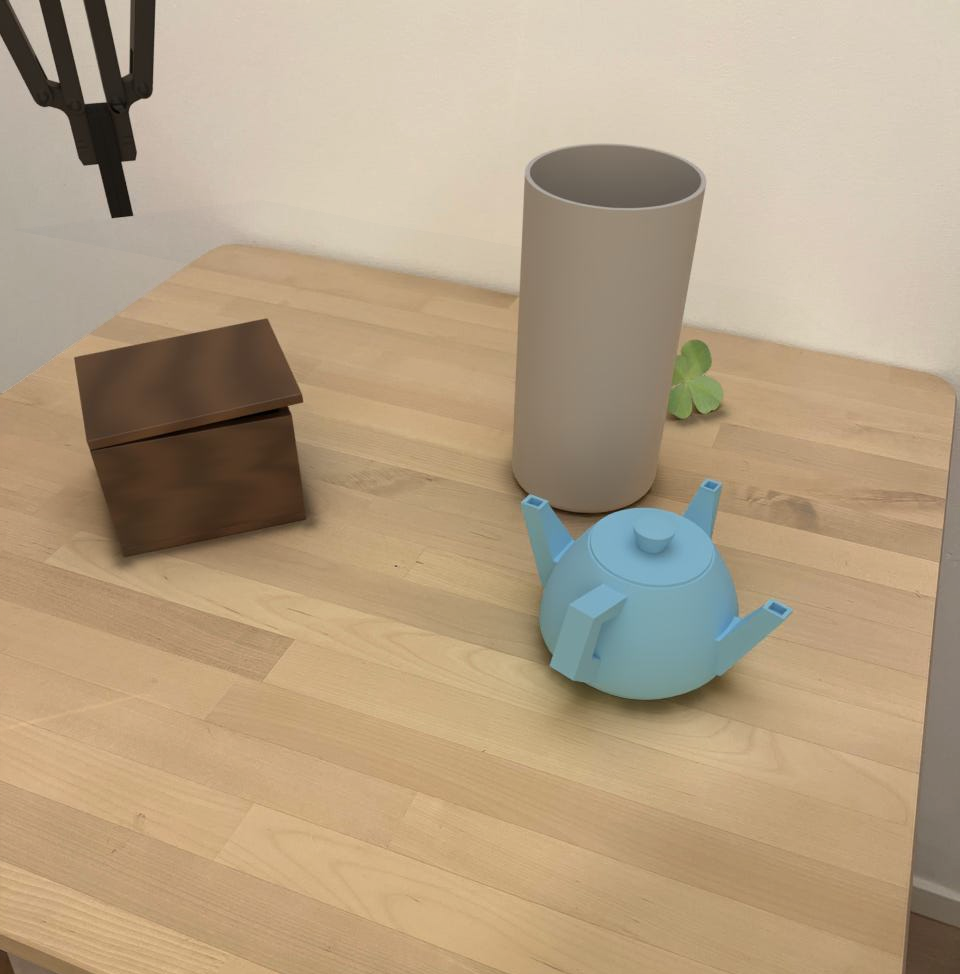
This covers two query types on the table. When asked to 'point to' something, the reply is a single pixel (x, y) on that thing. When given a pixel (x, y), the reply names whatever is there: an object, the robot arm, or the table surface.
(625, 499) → the cylinder vase
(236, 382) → the lid
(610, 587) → the teapot
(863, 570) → the table surface
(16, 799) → the table surface
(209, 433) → the chest
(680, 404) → the green clover leaf
